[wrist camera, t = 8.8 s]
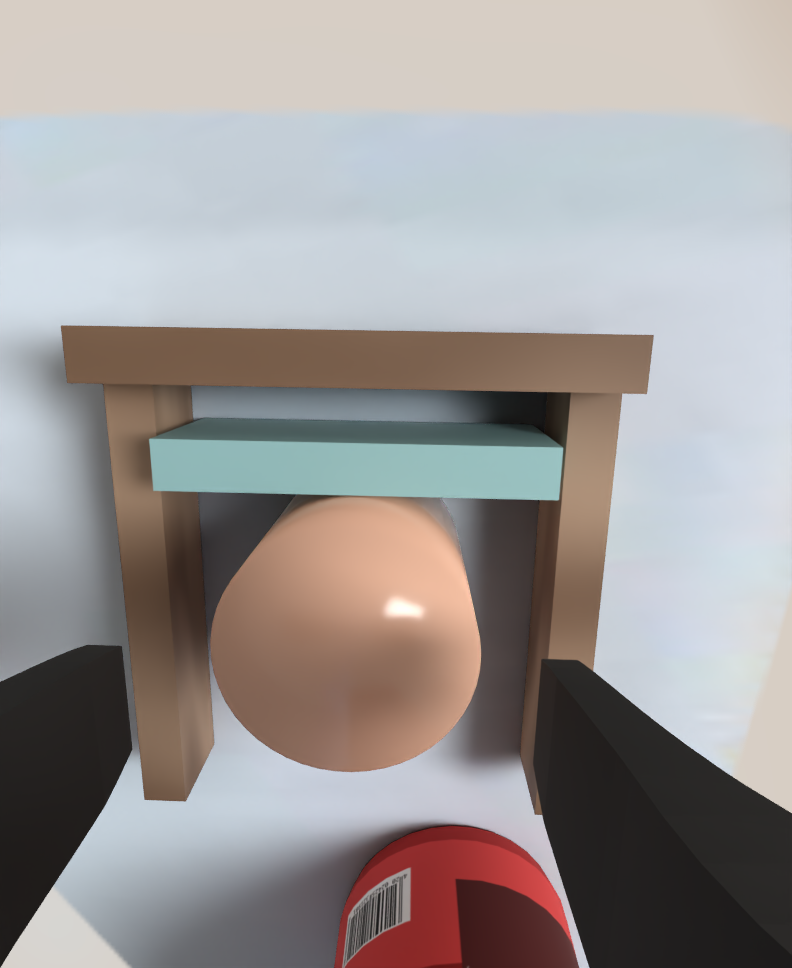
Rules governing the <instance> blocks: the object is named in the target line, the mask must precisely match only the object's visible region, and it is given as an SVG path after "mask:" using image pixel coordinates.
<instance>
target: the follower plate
mask: <svg viewBox="0 0 792 968" xmlns="http://www.w3.org/2000/svg"><path fill="white" fill-rule="evenodd" d="M149 443H150V455H151V467H152V479H153V491H183V492H225V493H267V494H310V495H352V496H394V497H437V498H479V499H521V500H559V493H560V481H561V469H562V457H563V447H562V446H560V445H559V444H558V443H556V442H555V441H554V440H552V439H551V438H550V437H548V436H547V435H546V434H544V433H543V432H542V431H540V430H539V429H537V428H536V427H535V426H533V425H530V424H481V423H432V422H382V421H333V420H284V419H235V418H203V419H200V420H197V421H195V422H192V423H190V424H187V425H184V426H182V427H179V428H176V429H174V430H171V431H168V432H166V433H163V434H161V435H158V436H155V437H153V438H150V439H149Z"/></svg>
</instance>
